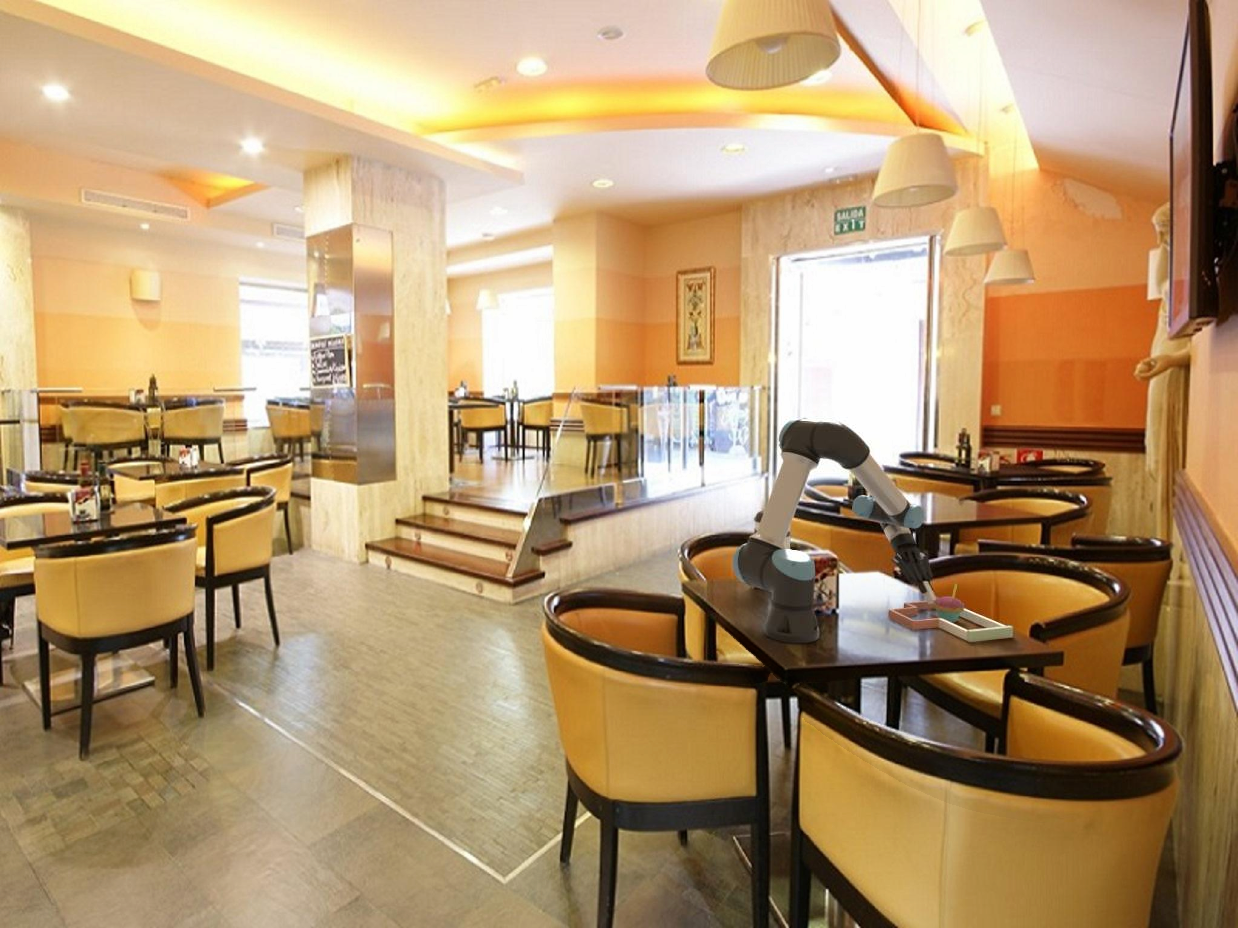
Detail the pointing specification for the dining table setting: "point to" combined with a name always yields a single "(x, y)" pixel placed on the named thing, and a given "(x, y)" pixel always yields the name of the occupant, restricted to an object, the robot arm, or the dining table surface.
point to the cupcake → (949, 607)
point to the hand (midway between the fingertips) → (932, 601)
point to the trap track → (988, 633)
